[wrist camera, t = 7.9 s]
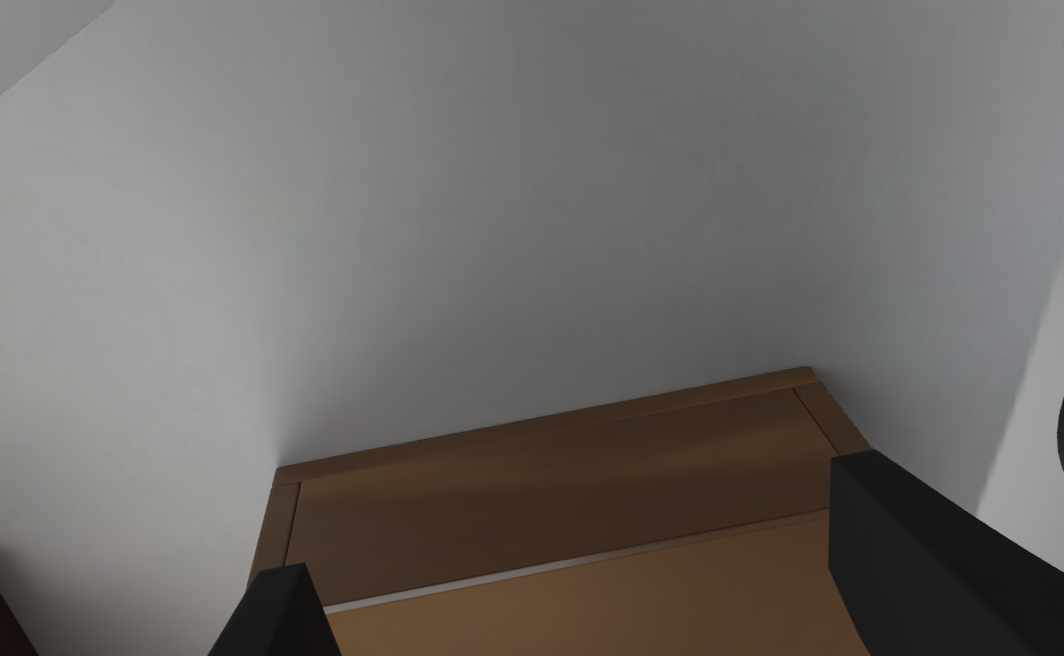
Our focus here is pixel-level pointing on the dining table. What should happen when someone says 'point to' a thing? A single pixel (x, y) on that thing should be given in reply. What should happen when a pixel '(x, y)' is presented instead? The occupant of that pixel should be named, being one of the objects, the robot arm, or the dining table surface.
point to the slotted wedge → (39, 31)
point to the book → (12, 635)
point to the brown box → (632, 606)
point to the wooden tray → (558, 490)
